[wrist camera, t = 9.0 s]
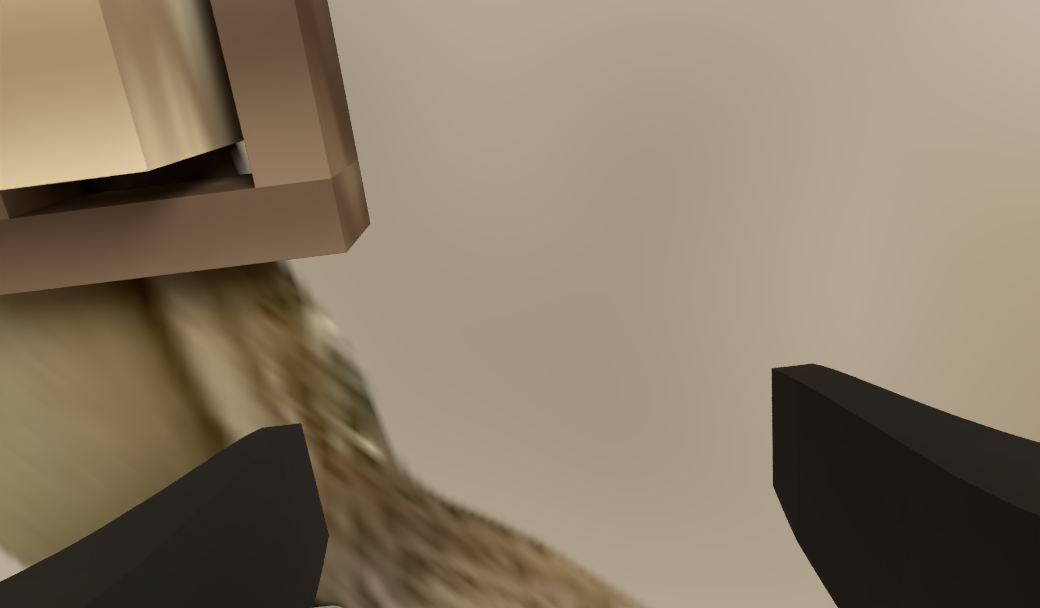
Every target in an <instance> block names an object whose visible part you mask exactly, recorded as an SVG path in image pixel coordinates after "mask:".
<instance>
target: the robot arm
mask: <svg viewBox="0 0 1040 608" xmlns="http://www.w3.org/2000/svg"><path fill="white" fill-rule="evenodd" d="M772 428H773V429H772V431H773V434H772V435H773V486H774V489H775V492H776V494H777V496H778V499H779V501H780V503H781V506H782V508H783V511H784V513H785V515H786V517H787V520H788V522H789V524H790V526H791V529H792V531H793V533H794V535H795V537H796V540H797V542H798V543H799V545H800V547H801V548H802V550H803V552H804V553H805V555H806V557H807V558H808V560H809V561H810V563H811V565H812V567H813V568H814V570H815V571H816V573H817V575H818V576H819V578H820V580H821V581H822V583H823V585H824V586H825V588H826V589H827V591H828V592H829V594H830V596H831V597H832V599H833V601H834V602H835V604H836V605H837V607H838V608H1040V443H1039V442H1035V441H1032V440H1029V439H1025V438H1022V437H1018V436H1015V435H1012V434H1008V433H1005V432H1002V431H999V430H996V429H993V428H990V427H987V426H984V425H981V424H978V423H975V422H972V421H969V420H966V419H963V418H960V417H958V416H955V415H952V414H949V413H947V412H944V411H941V410H938V409H936V408H933V407H930V406H927V405H925V404H922V403H919V402H917V401H914V400H912V399H909V398H907V397H904V396H901V395H899V394H896V393H894V392H891V391H888V390H886V389H883V388H881V387H878V386H876V385H873V384H871V383H868V382H866V381H863V380H860V379H858V378H856V377H853V376H850V375H848V374H845V373H842V372H839V371H837V370H834V369H830V368H827V367H824V366H820V365H816V364H806V365H798V366H789V367H781V368H772ZM328 537H329V534H328V530H327V526H326V522H325V518H324V514H323V510H322V506H321V502H320V498H319V494H318V490H317V486H316V482H315V478H314V474H313V470H312V466H311V461H310V457H309V453H308V449H307V445H306V441H305V437H304V433H303V429H302V425H301V423H300V424H292V425H283V426H274V427H266V428H261V429H259V430H257V431H255V432H252V433H251V434H249V435H247V436H245V437H243V438H242V439H240V440H238V441H237V442H235V443H233V444H232V445H230V446H229V447H227V448H226V449H224V450H222V451H221V452H219V453H218V454H216V455H215V456H213V457H212V458H210V459H209V460H207V461H206V462H204V463H203V464H201V465H200V466H198V467H197V468H195V469H193V470H192V471H190V472H189V473H187V474H186V475H184V476H183V477H181V478H180V479H178V480H177V481H175V482H174V483H172V484H171V485H169V486H168V487H166V488H165V489H163V490H162V491H160V492H159V493H157V494H155V495H154V496H152V497H151V498H149V499H147V500H146V501H144V502H142V503H141V504H139V505H138V506H136V507H134V508H133V509H131V510H129V511H128V512H126V513H125V514H123V515H121V516H120V517H118V518H117V519H115V520H113V521H112V522H110V523H108V524H107V525H105V526H104V527H102V528H100V529H99V530H97V531H95V532H94V533H92V534H90V535H88V536H87V537H85V538H83V539H81V540H80V541H78V542H76V543H74V544H72V545H71V546H69V547H67V548H65V549H63V550H62V551H60V552H58V553H56V554H54V555H52V556H50V557H48V558H46V559H44V560H42V561H40V562H39V563H37V564H35V565H33V566H31V567H29V568H27V569H25V570H23V571H21V572H19V573H17V574H15V575H13V576H11V577H9V578H7V579H5V580H3V581H1V582H0V608H312V606H313V603H314V600H315V597H316V594H317V590H318V585H319V581H320V577H321V572H322V568H323V563H324V558H325V553H326V547H327V542H328ZM314 608H342V607H339V606H323V607H314Z"/></svg>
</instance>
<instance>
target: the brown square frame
mask: <svg viewBox="0 0 1040 608" xmlns="http://www.w3.org/2000/svg"><path fill="white" fill-rule="evenodd" d="M210 1H211V6H212V10H213V14H214V18H215V22H216V26H217V30H218V35H219V39H220V43H221V47H222V51H223V55H224V59H225V64H226V68H227V72H228V76H229V80H230V84H231V88H232V93H233V97H234V101H235V105H236V109H237V113H238V117H239V122H240V126H241V130H242V134H243V138H244V142H245V146H246V151H247V155H248V159H249V163H250V167H251V171H252V173H250V174H242V175H235V176H227V177H219V178H211V179H203V180H195V181H187V182H179V183H171V184H163V185H155V186H147V187H140V188H132V189H124V190H116V191H108V192H100V193H92V194H83V191H82V188H81V185H80V181H79V180H75V181H68V182H60V183H52V184H44V185H37V186H29V187H21V188H13V189H6V190H0V295H5V294H13V293H21V292H29V291H37V290H45V289H53V288H61V287H70V286H78V285H86V284H94V283H102V282H110V281H118V280H127V279H135V278H143V277H151V276H159V275H167V274H175V273H183V272H192V271H200V270H208V269H216V268H224V267H232V266H240V265H249V264H257V263H265V262H273V261H281V260H289V259H297V258H305V257H313V256H322V255H330V254H338V253H346V252H347V251H348V250H349V249H350V248H351V246H352V245H353V244H354V243H355V242H356V240H357V239H358V238H359V236H361V234H362V233H363V232H364V230H365V229H366V228H367V227H368V226H369V225H370V220H369V214H368V209H367V204H366V199H365V194H364V188H363V183H362V178H361V173H360V168H359V163H358V158H357V152H356V147H355V142H354V136H353V131H352V126H351V121H350V116H349V110H348V105H347V100H346V95H345V90H344V85H343V79H342V74H341V69H340V64H339V59H338V53H337V48H336V43H335V38H334V33H333V28H332V22H331V17H330V12H329V7H328V2H327V0H210Z"/></svg>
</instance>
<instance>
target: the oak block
mask: <svg viewBox="0 0 1040 608" xmlns="http://www.w3.org/2000/svg"><path fill="white" fill-rule="evenodd" d="M243 140H244V138H243V134H242V130H241V126H240V122H239V117H238V113H237V109H236V105H235V101H234V97H233V93H232V88H231V84H230V80H229V76H228V72H227V68H226V64H225V59H224V55H223V51H222V47H221V43H220V39H219V35H218V30H217V26H216V22H215V18H214V14H213V10H212V6H211V1H210V0H0V190H6V189H13V188H21V187H29V186H37V185H44V184H52V183H60V182H68V181H75V180H83V179H91V178H99V177H106V176H114V175H122V174H130V173H137V172H145V171H150V170H153V169H156V168H159V167H162V166H165V165H169V164H172V163H175V162H178V161H181V160H184V159H187V158H190V157H193V156H196V155H199V154H203V153H206V152H209V151H212V150H215V149H218V148H221V147H224V146H227V145H230V144H234V143H237V142H240V141H243Z"/></svg>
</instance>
